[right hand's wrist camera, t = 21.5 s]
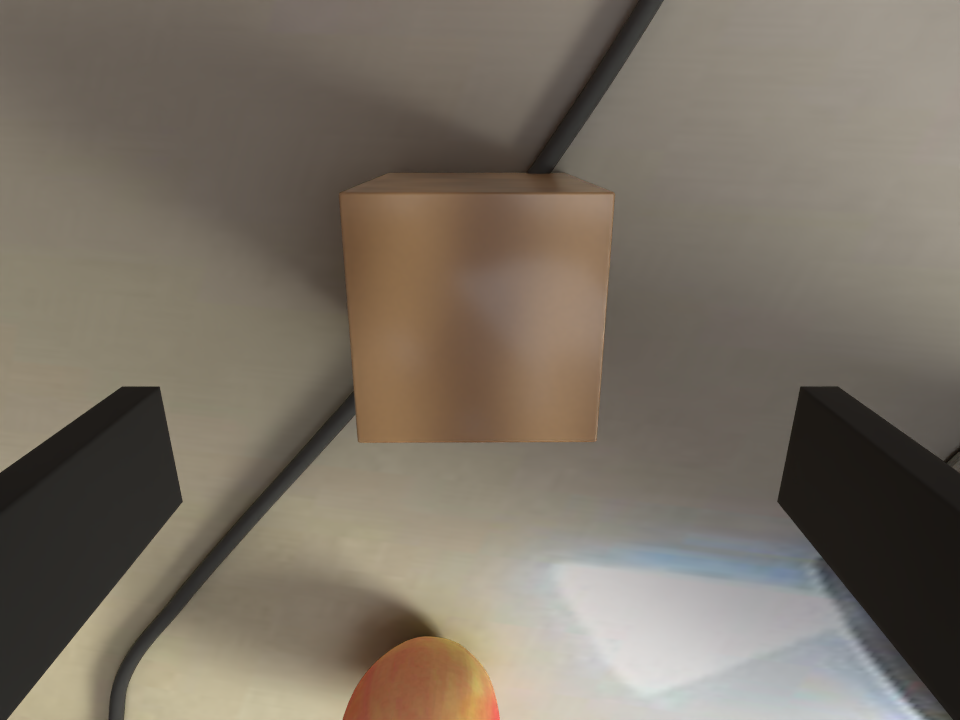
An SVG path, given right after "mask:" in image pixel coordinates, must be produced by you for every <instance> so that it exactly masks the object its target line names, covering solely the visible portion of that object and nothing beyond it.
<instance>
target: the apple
mask: <svg viewBox="0 0 960 720" xmlns="http://www.w3.org/2000/svg"><path fill="white" fill-rule="evenodd" d="M343 720H500V717H499V711H498V706H497V700H496V697H495V693H494V689H493V686H492V684H491V681H490V678H489V676H488V674H487V673H486V671H485V669H484V668H483V666H482V665H481V664H480V663H479V661H478V660H477V659H476V658H475V657H474V656H473V655H472V654H471V653H470V652H469V651H467V650H466V649H465V648H464V647H463V646H461V645H460V644H458V643H456V642H454V641H451V640H448V639H444V638H439V637H430V636H426V637H417V638H413V639H410V640H407V641H405V642H403V643H401V644H399V645H398V646H396V647H394V648H393V649H391V650H390V651H388V652H387V653H386V654H384V655H383V656H382V657H381V658H380V659H378V660H377V661H376V662H375V663H374V664H373V665H372V666H371V668H370V669H369V670H368V671H367V672H366V673H365V675H364V676H363V677H362V679H361V680H360V682H359V683H358V685H357V687H356V688H355V690H354V692H353V694H352V696H351V698H350V700H349V703H348V705H347V708H346V711H345V714H344V717H343Z"/></svg>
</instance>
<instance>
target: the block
mask: <svg viewBox="0 0 960 720" xmlns="http://www.w3.org/2000/svg"><path fill="white" fill-rule="evenodd" d="M614 199H615V194H614V192H611V191H609V190H606V189H604V188H601V187H599V186H596V185H594V184H591V183H589V182H586V181H584V180H581V179H579V178H576V177H574V176H571V175H569V174H566V173H549V174H528V173H387V174H385V175H382V176H380V177H377V178H375V179H372V180H370V181H367V182H365V183H362V184H360V185H357V186H355V187H352V188H350V189H347V190H345V191H343V192H340V193H339V204H340V217H341V230H342V243H343V256H344V269H345V282H346V295H347V307H348V320H349V333H350V346H351V359H352V372H353V385H354V398H355V411H356V424H357V437H358V442H360V443H377V442H596V440H597V430H598V416H599V402H600V389H601V375H602V362H603V348H604V335H605V321H606V308H607V294H608V281H609V267H610V254H611V240H612V227H613V213H614Z"/></svg>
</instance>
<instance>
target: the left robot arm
mask: <svg viewBox="0 0 960 720" xmlns="http://www.w3.org/2000/svg"><path fill="white" fill-rule="evenodd" d="M947 464H948V465H949V466H951V467H952V468H954V469H955V470H956V471H958V472H959V473H960V452H958V453H957V454H956V455H955V456H954V457H953V458H952V459H951V460H950V461H949V462H948V463H947Z"/></svg>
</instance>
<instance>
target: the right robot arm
mask: <svg viewBox="0 0 960 720" xmlns="http://www.w3.org/2000/svg"><path fill="white" fill-rule="evenodd" d="M663 1H664V0H639V2H638V3H637V5H636V7H635V8H634V10H633V12H632V13H631V15H630V17H629V18H628V20H627V22H626V23H625V25H624V26H623V28H622V30H621V31H620V33H619V35H618V36H617V38H616V39H615V41H614V43H613V44H612V46H611V47H610V49H609V51H608V52H607V54H606V55H605V57H604V58H603V60H602V62H601V63H600V65H599V66H598V68H597V69H596V71H595V73H594V74H593V76H592V77H591V79H590V80H589V82H588V83H587V85H586V86H585V88H584V89H583V91H582V92H581V94H580V96H579V97H578V99H577V100H576V102H575V103H574V105H573V106H572V108H571V109H570V111H569V112H568V114H567V115H566V117H565V118H564V120H563V121H562V123H561V124H560V126H559V127H558V129H557V130H556V131H555V133H554V134H553V136H552V137H551V139H550V140H549V142H548V143H547V145H546V146H545V148H544V149H543V151H542V152H541V154H540V155H539V156H538V158H537V159H536V161H535V162H534V164H533V165H532V166H531V168H530V169H529V171H528V172H527V173H528V174H549V173H551V171H552V170H553V168H554V167H555V166H556V164H557V163H558V161H559V160H560V158H561V157H562V156H563V154H564V153H565V151H566V150H567V148H568V147H569V145H570V144H571V143H572V141H573V140H574V138H575V137H576V135H577V134H578V132H579V131H580V129H581V128H582V126H583V125H584V124H585V122H586V121H587V119H588V118H589V116H590V115H591V113H592V112H593V110H594V109H595V107H596V106H597V104H598V103H599V101H600V100H601V98H602V97H603V95H604V94H605V92H606V91H607V89H608V88H609V86H610V85H611V83H612V82H613V80H614V79H615V77H616V75H617V74H618V72H619V71H620V69H621V68H622V66H623V65H624V63H625V62H626V60H627V58H628V57H629V55H630V54H631V52H632V51H633V49H634V47H635V46H636V44H637V43H638V41H639V39H640V38H641V36H642V35H643V33H644V31H645V30H646V28H647V27H648V25H649V23H650V22H651V20H652V19H653V17H654V15H655V14H656V12H657V10H658V9H659V7H660V6H661V4H662V2H663ZM355 414H356V411H355V398H354V391H353V393H352V394H351V395H350V396H349V397H348V398H347V399H346V400H345V402H344V403H343V404H342V405H341V406H340V407H339V408H338V409H337V411H336V412H335V413H334V414H333V415H332V416H331V417H330V418H329V420H328V421H327V422H326V423H325V424H324V425H323V426H322V427H321V429H320V430H319V431H318V432H317V433H316V434H315V435H314V436H313V438H312V439H311V440H310V441H309V442H308V443H307V444H306V445H305V447H304V448H303V449H302V450H301V451H300V452H299V453H298V454H297V456H296V457H295V458H294V459H293V460H292V461H291V462H290V463H289V464H288V466H287V467H286V468H285V469H284V470H283V471H282V472H281V473H280V474H279V476H278V477H277V478H276V479H275V480H274V481H273V482H272V483H271V484H270V485H269V487H268V488H267V489H266V490H265V491H264V492H263V493H262V494H261V495H260V497H259V498H258V499H257V500H256V501H255V502H254V503H253V504H252V505H251V507H250V508H249V509H248V510H247V511H246V512H245V513H244V515H243V516H242V517H241V518H240V519H239V520H238V521H237V523H236V524H235V525H234V526H233V527H232V528H231V529H230V531H229V532H228V533H227V534H226V535H225V536H224V537H223V539H222V540H221V541H220V542H219V543H218V544H217V545H216V547H215V548H214V549H213V550H212V551H211V552H210V553H209V555H208V556H207V557H206V558H205V559H204V560H203V562H202V563H201V564H200V565H199V566H198V567H197V569H196V570H195V571H194V572H193V573H192V575H191V576H190V577H189V578H188V579H187V581H186V582H185V583H184V584H183V585H182V587H181V588H180V589H179V590H178V592H177V593H176V594H175V595H174V597H173V598H172V599H171V600H170V601H169V603H168V604H167V605H166V606H165V608H164V609H163V610H162V611H161V612H160V613H159V615H158V616H157V617H156V618H155V619H154V620H153V621H152V623H151V624H150V625H149V626H148V627H147V628H146V629H145V631H144V632H143V633H142V634H141V635H140V637H139V638H138V639H137V640H136V642H135V643H134V644H133V646H132V647H131V648H130V650H129V651H128V653H127V655H126V656H125V658H124V660H123V662H122V663H121V665H120V667H119V670H118V672H117V674H116V677H115V680H114V683H113V686H112V691H111V696H110V705H109V720H124V710H125V697H126V690H127V687H128V684H129V681H130V678H131V676H132V674H133V672H134V670H135V668H136V666H137V665H138V663H139V661H140V660H141V658H142V657H143V655H144V654H145V652H146V651H147V650H148V648H149V647H150V646H151V645H152V643H153V642H154V641H155V640H156V639H157V637H158V636H159V635H160V634H161V633H162V632H163V631H164V630H165V628H166V627H167V626H168V625H169V624H170V623H171V622H172V621H173V620H174V618H175V617H176V616H177V615H178V614H179V613H180V611H181V610H182V609H183V608H184V606H185V605H186V604H187V603H188V602H189V600H190V599H191V598H192V597H193V596H194V594H195V593H196V592H197V591H198V590H199V588H200V587H201V586H202V585H203V584H204V582H205V581H206V580H207V579H208V578H209V577H210V575H211V574H212V573H213V572H214V571H215V570H216V568H217V567H218V566H219V565H220V564H221V563H222V562H223V560H224V559H225V558H226V557H227V556H228V555H229V554H230V553H231V551H232V550H233V549H234V548H235V547H236V546H237V545H238V544H239V542H240V541H241V540H242V539H243V538H244V537H245V536H246V535H247V533H248V532H249V531H250V530H251V529H252V528H253V527H254V526H255V524H256V523H257V522H258V521H259V520H260V519H261V518H262V517H263V515H264V514H265V513H266V512H267V511H268V510H269V509H270V508H271V507H272V506H273V504H274V503H275V502H276V501H277V500H278V499H279V498H280V497H281V496H282V495H283V494H284V492H285V491H286V490H287V489H288V488H289V487H290V486H291V485H292V484H293V483H294V482H295V480H296V479H297V478H298V477H299V476H300V475H301V474H302V473H303V472H304V471H305V470H306V468H307V467H308V466H309V465H310V464H311V463H312V462H313V461H314V460H315V459H316V457H317V456H318V455H319V454H320V453H321V452H322V451H323V450H324V449H325V447H326V446H327V445H328V444H329V443H330V442H331V441H332V440H333V439H334V437H335V436H336V435H337V434H338V433H339V432H340V431H341V430H342V429H343V428H344V426H345V425H346V424H347V423H348V422H349V421H350V420H351V419H352V418H353V416H354V415H355ZM182 502H183V501H182V496H181V491H180V486H179V481H178V476H177V471H176V466H175V461H174V456H173V451H172V446H171V441H170V436H169V431H168V426H167V421H166V416H165V411H164V406H163V401H162V396H161V391H160V387H121V388H119V389H118V390H117V391H115V392H114V393H112V394H111V395H110V396H108V397H107V398H105V399H104V400H103V401H101V402H100V403H98V404H97V405H95V406H94V407H93V408H91V409H90V410H88V411H87V412H86V413H84V414H83V415H81V416H80V417H79V418H77V419H76V420H74V421H73V422H71V423H70V424H69V425H67V426H66V427H64V428H63V429H62V430H60V431H59V432H57V433H56V434H55V435H53V436H52V437H50V438H49V439H47V440H46V441H45V442H43V443H42V444H40V445H39V446H38V447H36V448H35V449H33V450H32V451H30V452H29V453H28V454H26V455H25V456H23V457H22V458H21V459H19V460H18V461H16V462H15V463H14V464H12V465H11V466H9V467H8V468H6V469H5V470H4V471H2V472H1V473H0V720H7V719H8V717H9V716H10V715H11V714H12V712H13V711H14V710H15V709H16V708H17V706H18V705H19V704H20V703H21V701H22V700H23V699H24V698H25V696H26V695H27V694H28V693H29V691H30V690H31V689H32V688H33V686H34V685H35V684H36V683H37V682H38V680H39V679H40V678H41V677H42V675H43V674H44V673H45V672H46V670H47V669H48V668H49V667H50V665H51V664H52V663H53V662H54V660H55V659H56V658H57V657H58V656H59V654H60V653H61V652H62V651H63V649H64V648H65V647H66V646H67V644H68V643H69V642H70V641H71V639H72V638H73V637H74V636H75V634H76V633H77V632H78V631H79V629H80V628H81V627H82V626H83V625H84V623H85V622H86V621H87V620H88V618H89V617H90V616H91V615H92V613H93V612H94V611H95V610H96V608H97V607H98V606H99V605H100V603H101V602H102V601H103V600H104V599H105V597H106V596H107V595H108V594H109V592H110V591H111V590H112V589H113V587H114V586H115V585H116V584H117V582H118V581H119V580H120V579H121V577H122V576H123V575H124V574H125V572H126V571H127V570H128V569H129V568H130V566H131V565H132V564H133V563H134V561H135V560H136V559H137V558H138V556H139V555H140V554H141V553H142V551H143V550H144V549H145V548H146V546H147V545H148V544H149V543H150V542H151V540H152V539H153V538H154V537H155V535H156V534H157V533H158V532H159V530H160V529H161V528H162V527H163V525H164V524H165V523H166V522H167V520H168V519H169V518H170V517H171V515H172V514H173V513H174V512H175V511H176V509H177V508H178V507H179V506H180V504H181V503H182ZM777 502H778V503H779V504H780V506H781V507H782V508H783V509H784V511H785V512H786V513H787V514H788V515H789V517H790V518H791V519H792V520H793V522H794V523H795V524H796V525H797V527H798V528H799V529H800V530H801V532H802V533H803V534H804V535H805V537H806V538H807V539H808V540H809V542H810V543H811V544H812V545H813V546H814V548H815V549H816V550H817V551H818V553H819V554H820V555H821V556H822V558H823V559H824V560H825V561H826V563H827V564H828V565H829V566H830V568H831V569H832V570H833V571H834V572H835V574H836V575H837V576H838V577H839V579H840V580H841V581H842V582H843V584H844V585H845V586H846V587H847V589H848V590H849V591H850V592H851V594H852V595H853V596H854V597H855V599H856V600H857V601H858V602H859V603H860V605H861V606H862V607H863V608H864V610H865V611H866V612H867V613H868V615H869V616H870V617H871V618H872V620H873V621H874V622H875V623H876V625H877V626H878V627H879V628H880V629H881V631H882V632H883V633H884V634H885V636H886V637H887V638H888V639H889V641H890V642H891V643H892V644H893V646H894V647H895V648H896V649H897V651H898V652H899V653H900V654H901V656H902V657H903V658H904V659H905V660H906V662H907V663H908V664H909V665H910V667H911V668H912V669H913V670H914V672H915V673H916V674H917V675H918V677H919V678H920V679H921V680H922V682H923V683H924V684H925V685H926V686H927V688H928V689H929V690H930V691H931V693H932V694H933V695H934V696H935V698H936V699H937V700H938V701H939V703H940V704H941V705H942V706H943V708H944V709H945V710H946V711H947V712H948V714H949V715H950V716H951V717H952V719H953V720H960V473H959V472H958V471H956V470H955V469H954V468H952V467H951V466H949V465H948V464H946V463H945V462H944V461H942V460H941V459H939V458H938V457H937V456H935V455H934V454H932V453H931V452H930V451H928V450H927V449H925V448H924V447H922V446H921V445H920V444H918V443H917V442H915V441H914V440H913V439H911V438H910V437H908V436H907V435H905V434H904V433H903V432H901V431H900V430H898V429H897V428H896V427H894V426H893V425H891V424H890V423H889V422H887V421H886V420H884V419H883V418H881V417H880V416H879V415H877V414H876V413H874V412H873V411H872V410H870V409H869V408H867V407H866V406H865V405H863V404H862V403H860V402H859V401H857V400H856V399H855V398H853V397H852V396H850V395H849V394H848V393H846V392H845V391H843V390H842V389H841V388H839V387H800V391H799V396H798V401H797V406H796V411H795V416H794V421H793V426H792V431H791V436H790V441H789V446H788V451H787V456H786V461H785V466H784V471H783V476H782V481H781V486H780V491H779V496H778V501H777Z"/></svg>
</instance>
